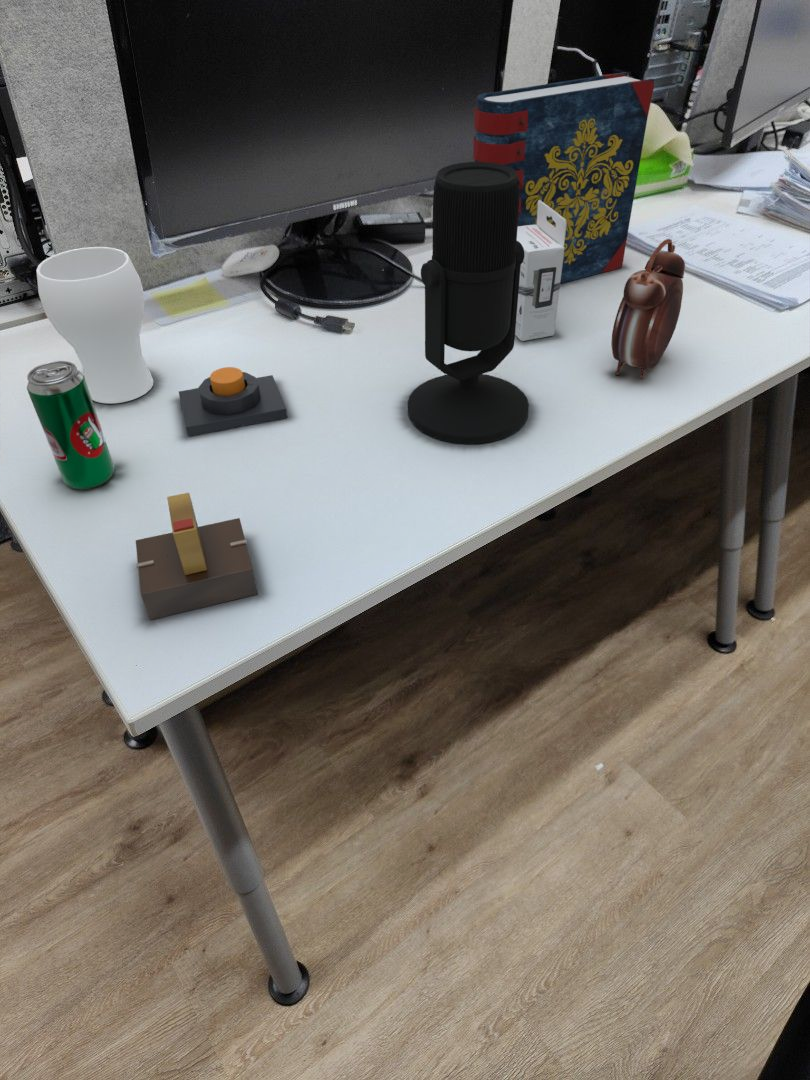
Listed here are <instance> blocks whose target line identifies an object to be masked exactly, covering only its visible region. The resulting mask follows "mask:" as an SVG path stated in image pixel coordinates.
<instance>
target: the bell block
mask: <svg viewBox="0 0 810 1080" xmlns="http://www.w3.org/2000/svg"><path fill="white" fill-rule="evenodd" d="M242 372H243V377H244V383H245V389H244V390H243V391H241V392H239V393H238V394H234V395H229V396H223V395H216V394H214V392H213V390H212V385H211V380H210V376H209V377H207V378H204V379H203V381H202V382H201V383H200V385H199V386H198V387H197V388H191V389H190V388H189V389H183V390H179V391H178V397H179V401H180V406H181V410H182V415H183V420H184V425H185V430H186V433H187V437H192V436H198V435H203V434H208V433H212V432H213V433H214V432H218V431H223V430H228V429H229V430H231V429H233V428H240V427H244V426H245V427H246V426H250V425H256V424H260V423H266V422H272V421H276V420H281V419H282V420H283V419H287V418H288V413H287V408H286V404H285V403H284V400H283V398H282V395H281V392H280V390H279V387H278V385H277V383H276V380H275V378H274V376H273V374H271V375H264V376H259V377H256V376H254V375H252V374H250V373H248V372H246V371H242Z"/></svg>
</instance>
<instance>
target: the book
mask: <svg viewBox="0 0 810 1080" xmlns="http://www.w3.org/2000/svg"><path fill="white" fill-rule="evenodd" d="M654 88H655V79H653V78H647V79H637V78H633V77H631V76H628V72H626V71H623V72H622V71H621V72H616V73H608V74H607V73H606V74H602V75H597V76H591V77H584V78H583V77H582V78H578V79H571V80H564V81H558V82H551V83H545V84H539V85H532V86H525V87H519V88H518V87H517V88H514V89H513V88H512V89H506V90H505V89H504V90H500V91H494V92H484V93H480V94H478V95H477V96H476V106H475V107H474V123H473V124H474V127H473V128H474V131H475V135H474V137H473V146H472V147H473V153H472V154H473V160H474V162H488V163H496V164H501V165H505V166H508V167H511V168H513V169H514V170H515V171H516V172H517V175H518V179H519V215H518V226H526V225H537V211H538V201H539V200H541V201H542V202H543V203H545V204H546V205H548V206H549V207H550V208H552V209H553V210H554V211H555V212H557V213H558V214H559V215H560V216H562V217H563V218H565V219H566V222H567V225H566V234H565V242H564V256H563V264H562V272H561V281H560V285H561V284H565V283H568V282H572V281H576V280H580V279H584V278H588V277H591V276H595V275H599V274H603V273H607V272H611V271H615V270H618V269H622V268H623V264H624V259H625V252H626V246H627V239H628V235H629V230H630V223H631V216H632V210H633V206H634V200H635V193H636V187H637V183H638V182H637V181H638V176H639V169H640V164H641V159H642V158H641V157H642V153H643V146H644V140H645V135H646V129H647V123H648V119H649V113H650V109H651V104H652V103H651V102H652V99H653V95H654ZM547 221H548V222H549V223H550V224H552V225H553V226H554V227H556V223H555V222H554V221H553V220H552V217H548V216H547Z"/></svg>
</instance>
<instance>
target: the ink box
mask: <svg viewBox="0 0 810 1080" xmlns="http://www.w3.org/2000/svg"><path fill="white" fill-rule="evenodd" d="M547 216H548V217H552V220H553V221H554V222H555V223H556V227H554V226H553V225H552V224H550V223H549V222H548V221H547ZM566 225H567V222H566V219H565V218H563V217H562V216H560V215H559V214H558V213H557V212H555V211H554V210H553V209H552V208H550V207H549V206H548V205H546V204H545V203H543V202H542V201H541V200H539V201H538V211H537V225H526V226H518V229H517V241H519V242H520V243H521V244H522V246H523V248H524V260H523V262H522V264H521V267H520V280H519V292H518V304H517V316H516V329H515V337H517V338H518V340H519V341H521V342H526V341H531V340H536V339H542V338H547V337H553V336H554V335H555V330H556V321H557V314H558V305H559V299H560V298H559V297H560V288H561V284H560V281H561V272H562V264H563V256H564V242H565V234H566Z"/></svg>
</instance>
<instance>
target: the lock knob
mask: <svg viewBox="0 0 810 1080" xmlns="http://www.w3.org/2000/svg"><path fill="white" fill-rule="evenodd" d="M166 499H167V506H168V511H169V518H170V524H171V531H172V532H173V536H174V539H175V543H176V546H177V550H178V553H179V556H180V560H181V563H182V567H183V570H184V574H185V575H188V574H193V573H197V572H201V571H206V570H207V567H206V562H205V557H204V552H203V547H202V542H201V537H200V532H199V528H198V527H199V524H198V520H197V518H196V513H195V509H194V506H193V502H192V498H191V494H190V492H185V493H180V494H175V495H169V496H167V497H166Z"/></svg>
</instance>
